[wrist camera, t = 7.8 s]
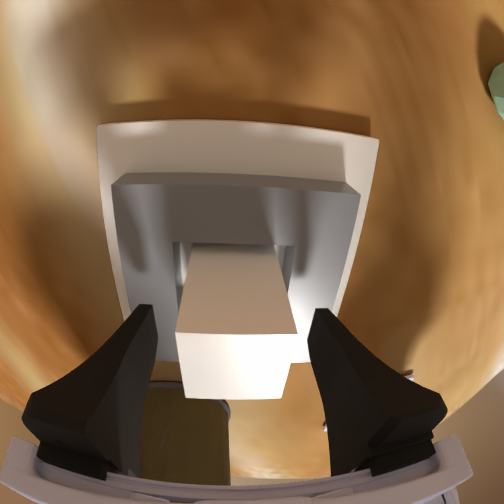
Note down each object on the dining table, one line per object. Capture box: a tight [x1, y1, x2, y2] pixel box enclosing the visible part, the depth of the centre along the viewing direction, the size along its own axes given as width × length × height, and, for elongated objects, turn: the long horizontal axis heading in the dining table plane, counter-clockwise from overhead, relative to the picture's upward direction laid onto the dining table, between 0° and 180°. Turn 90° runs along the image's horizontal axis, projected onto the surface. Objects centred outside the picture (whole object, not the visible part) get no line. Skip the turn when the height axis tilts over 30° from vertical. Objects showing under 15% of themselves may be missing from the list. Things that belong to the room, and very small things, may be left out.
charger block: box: [175, 243, 298, 399], centre depth 13 cm, size 4×4×7 cm
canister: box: [140, 382, 231, 503], centre depth 16 cm, size 11×10×20 cm
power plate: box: [96, 119, 379, 363], centre depth 16 cm, size 16×14×3 cm
